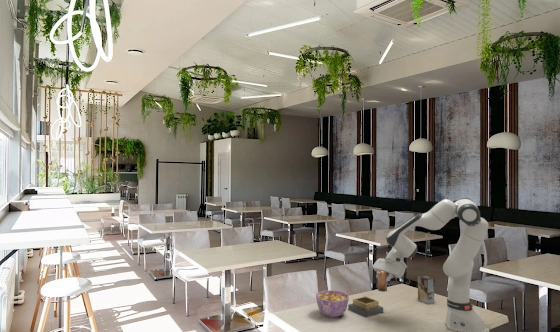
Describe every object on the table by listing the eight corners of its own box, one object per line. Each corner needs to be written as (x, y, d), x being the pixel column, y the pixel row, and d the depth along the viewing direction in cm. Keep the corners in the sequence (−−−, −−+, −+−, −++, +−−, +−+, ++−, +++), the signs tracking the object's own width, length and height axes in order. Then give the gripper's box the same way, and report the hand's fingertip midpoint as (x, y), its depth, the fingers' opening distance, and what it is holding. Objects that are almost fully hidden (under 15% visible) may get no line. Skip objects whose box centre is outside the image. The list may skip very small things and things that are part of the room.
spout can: (388, 290, 223) (389, 271, 223) (380, 292, 220) (380, 273, 220) (382, 288, 228) (382, 269, 228) (373, 290, 224) (373, 271, 224)
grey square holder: (383, 312, 236) (383, 301, 236) (365, 317, 227) (365, 306, 227) (365, 304, 248) (365, 294, 248) (348, 309, 240) (348, 298, 240)
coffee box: (435, 302, 253) (435, 278, 253) (427, 304, 250) (427, 279, 251) (424, 298, 261) (424, 274, 262) (417, 299, 259) (417, 276, 259)
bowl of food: (322, 322, 218) (322, 302, 219) (310, 310, 238) (310, 291, 238) (354, 319, 224) (354, 299, 224) (340, 307, 243) (340, 289, 243)
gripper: (377, 253, 237) (365, 271, 231) (404, 260, 220) (392, 280, 214) (382, 260, 239) (371, 278, 234) (409, 267, 222) (398, 287, 217)
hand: (381, 279), depth 224 cm, fingers closed on spout can, 5 cm apart
